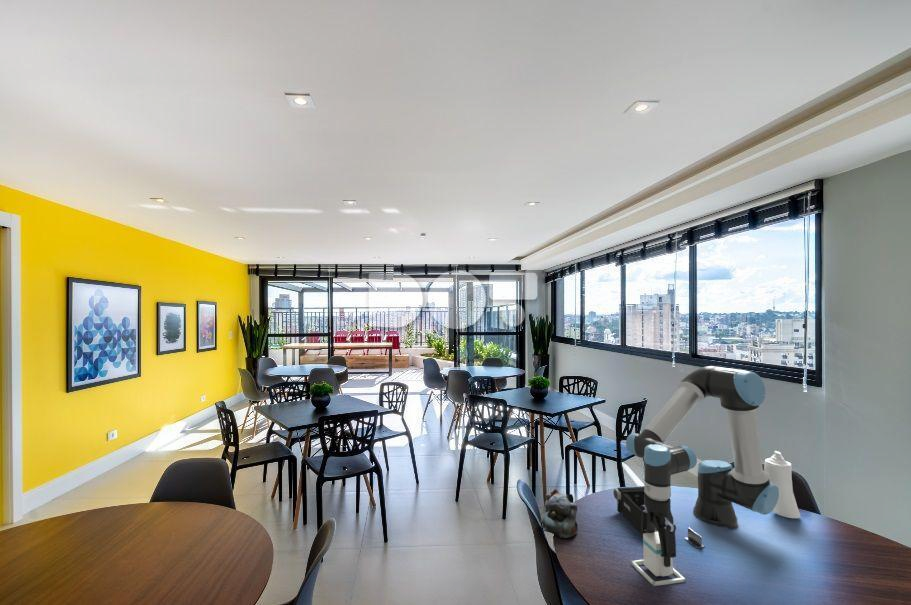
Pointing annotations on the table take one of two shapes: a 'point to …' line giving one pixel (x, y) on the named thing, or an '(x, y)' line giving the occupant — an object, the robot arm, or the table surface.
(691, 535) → the card holder
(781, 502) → the white bottle
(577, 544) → the table surface
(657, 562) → the block
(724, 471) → the robot arm
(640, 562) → the tray
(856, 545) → the table surface
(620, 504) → the camcorder
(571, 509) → the lucky cat figurine
